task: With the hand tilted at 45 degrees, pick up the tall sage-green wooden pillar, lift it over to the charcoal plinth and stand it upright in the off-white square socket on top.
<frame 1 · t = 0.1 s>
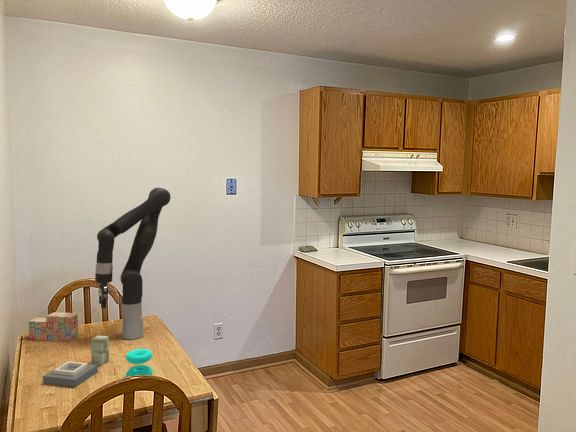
hand: (102, 305, 226), 17 cm above the table, tool pointing down, fingers open, 8 cm apart
donuts: (139, 377, 189), on the table
pillar: (100, 363, 202), on the table
plinth: (71, 377, 187), on the table
stack of blocks: (54, 339, 230), on the table
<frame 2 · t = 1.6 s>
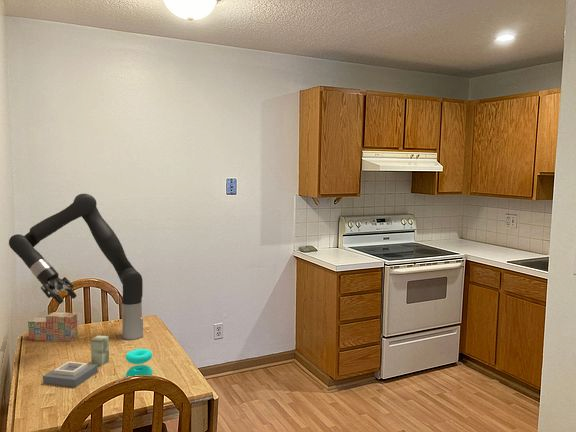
hand: (68, 299, 204), 26 cm above the table, tool tilted 45°, fingers open, 8 cm apart
nothing on the table moved.
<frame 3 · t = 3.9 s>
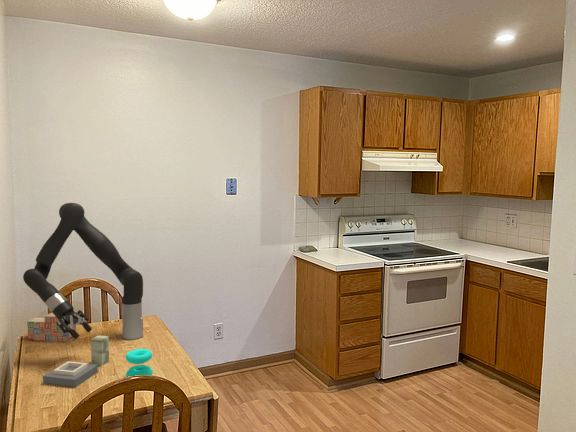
hand: (84, 334, 202), 12 cm above the table, tool tilted 45°, fingers open, 8 cm apart
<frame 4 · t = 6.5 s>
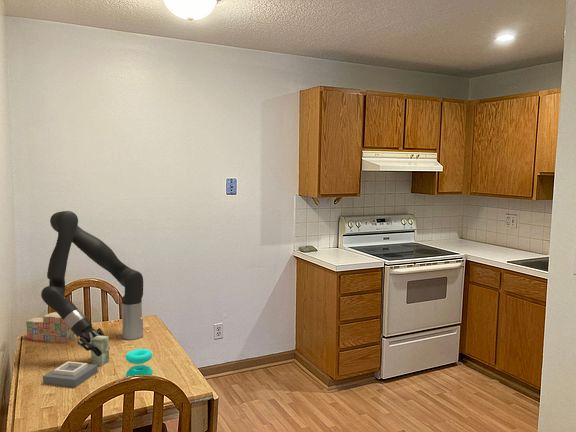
hand: (104, 352, 201), 5 cm above the table, tool tilted 45°, fingers closed on pillar, 5 cm apart
pillar: (100, 363, 202), on the table, touching gripper
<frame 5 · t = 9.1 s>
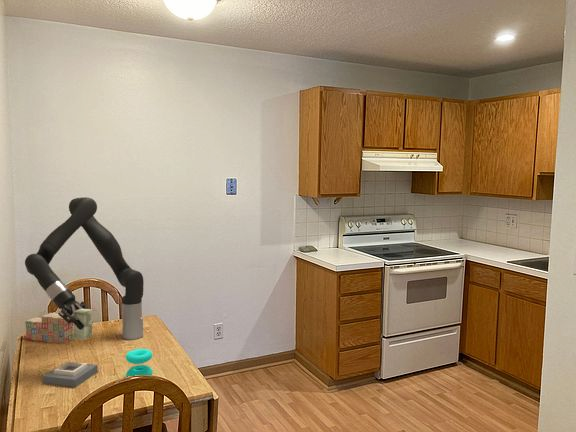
hand: (86, 326, 192), 19 cm above the table, tool tilted 45°, fingers closed on pillar, 5 cm apart
pillar: (82, 337, 193), point 14 cm above the table, touching gripper
when the fingers open (10 cm above the table, at t = 11.9 s): pillar drops 2 cm, resting on plinth.
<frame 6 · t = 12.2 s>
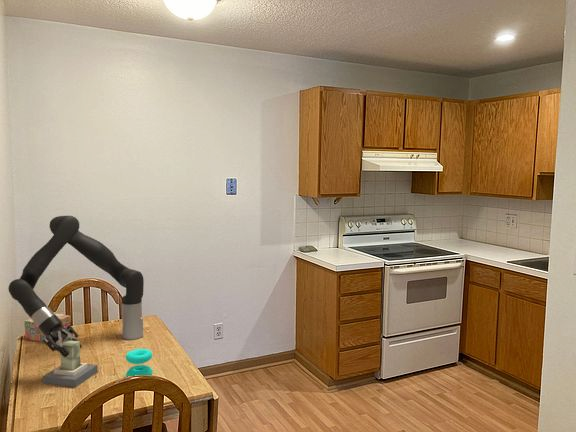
hand: (73, 351, 186), 11 cm above the table, tool tilted 45°, fingers open, 7 cm apart
pillar: (70, 370, 187), point 3 cm above the table, touching plinth
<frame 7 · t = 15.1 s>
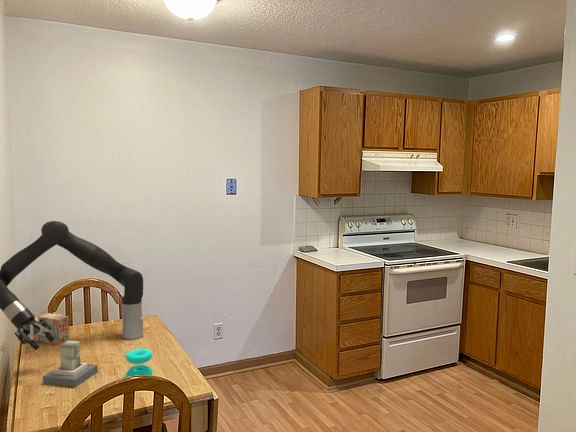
hand: (45, 344, 189), 12 cm above the table, tool tilted 45°, fingers open, 8 cm apart
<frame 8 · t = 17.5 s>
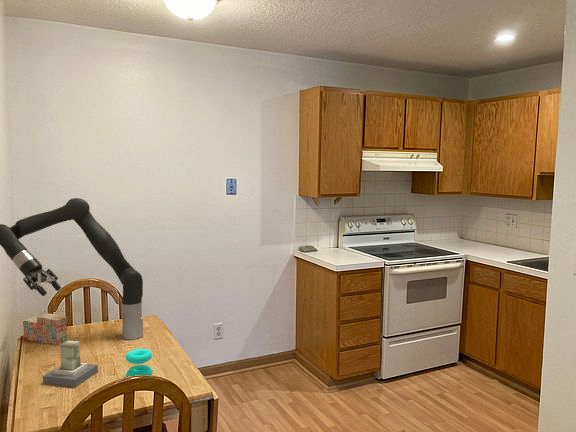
hand: (52, 292, 198), 31 cm above the table, tool tilted 45°, fingers open, 8 cm apart
at the end: pillar 0.1 cm off-centre on the plinth, point 3.0 cm above the plinth's base; pillar tilted 0°; the gripper is holding nothing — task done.
